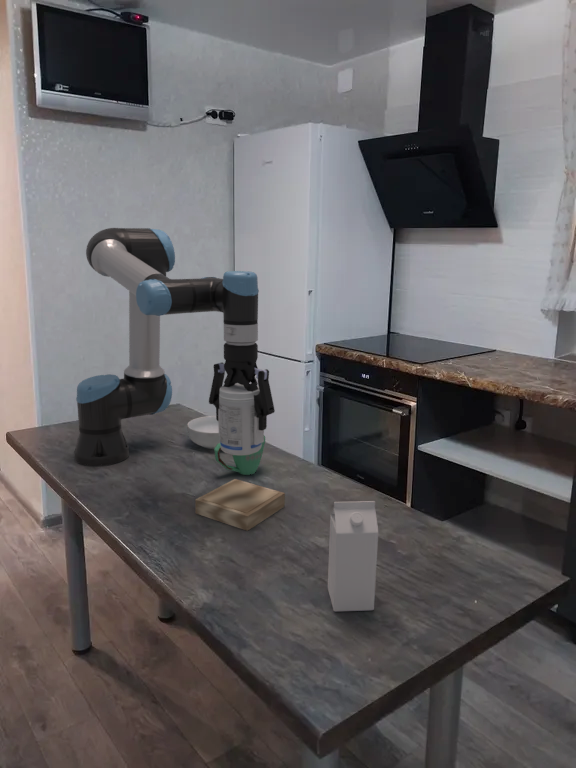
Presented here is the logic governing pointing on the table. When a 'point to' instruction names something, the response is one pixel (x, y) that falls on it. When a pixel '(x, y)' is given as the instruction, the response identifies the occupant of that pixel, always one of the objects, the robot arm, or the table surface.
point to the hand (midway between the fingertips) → (240, 438)
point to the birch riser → (240, 504)
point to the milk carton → (352, 556)
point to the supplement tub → (237, 420)
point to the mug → (242, 461)
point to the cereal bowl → (204, 431)
